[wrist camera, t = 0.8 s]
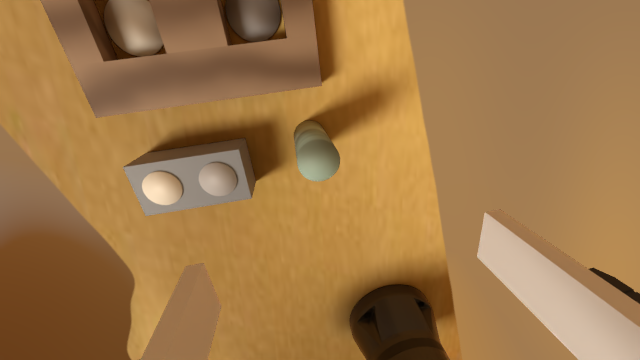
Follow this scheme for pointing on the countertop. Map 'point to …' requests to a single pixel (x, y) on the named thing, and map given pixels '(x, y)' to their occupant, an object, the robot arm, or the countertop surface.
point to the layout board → (184, 50)
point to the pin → (315, 152)
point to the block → (192, 176)
